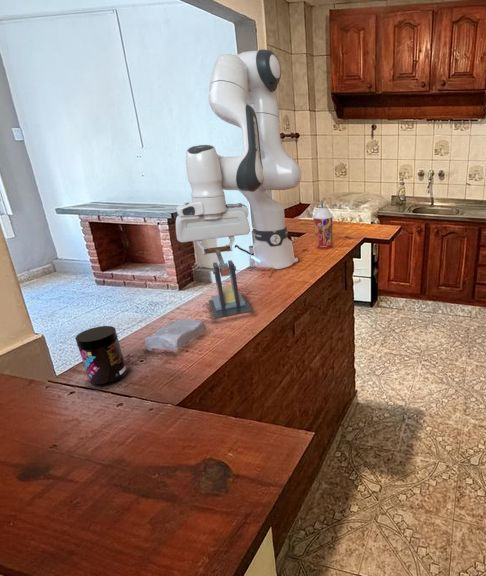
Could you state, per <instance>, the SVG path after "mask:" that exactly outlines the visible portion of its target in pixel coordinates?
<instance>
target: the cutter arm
mask: <svg viewBox="0 0 486 576" xmlns="http://www.w3.org/2000/svg"><path fill="white" fill-rule="evenodd" d="M207 250H208V251H207V252H208V254H207V255H209V254H215V255H216V257H217V260H218V266H219V271H220V277H222V278H223V277H230V271H229V265H228V262H226V263H225V261H224V258H223V256H222V253H223V252H227V247H226V245H224V246H215V247H208V248H207Z"/></svg>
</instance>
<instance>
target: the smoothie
mask: <svg viewBox="0 0 486 576" xmlns="http://www.w3.org/2000/svg"><path fill="white" fill-rule="evenodd" d="M320 206H321V207H319V208H317V209H316V211H314V214H313V216H312V219H313V225H314V234H315V240H316V246H317V247H318V249H322V250H323V249H324V250H325V249H330V248H332V245H333V219H334V218H333V217H334V216H333V214H332V213H331V211H330V210H329V209H328V208H326V207H324V201H323V200H322V201H320ZM330 245H331V246H330ZM320 246H327V247H320Z"/></svg>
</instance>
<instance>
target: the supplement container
mask: <svg viewBox="0 0 486 576" xmlns="http://www.w3.org/2000/svg"><path fill="white" fill-rule="evenodd" d="M75 342H76V345H77V348H78V351H79V354H80V357H81V360H82V363H83V366H84V370H85V373H86V376H87V378H88V382H89V384H91V386H94V387H98V388H99V387H108V386H111V385H114V384H116V383H119V382H120V381H122V380H123V379H124V378H125V377H126V375H127V372H128V371H127V367H126V363H125V359H124V355H123V352H122V349H121V345H120V341H119V336H118V332H117V330H116V327H114V326H111V325H102V326H101V325H100V326H96V327H95V326H94V327H92V328H89V329H86V330H83V331H81V332H79V333H78V334H77V335H76V336H75Z"/></svg>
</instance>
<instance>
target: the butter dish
mask: <svg viewBox="0 0 486 576" xmlns="http://www.w3.org/2000/svg"><path fill="white" fill-rule="evenodd" d="M222 290H223V296H224V302H225V308H226V309H227V308H233V307H237V306H236V303H235V298H234V292H233V290H232V284H231V285H226V286H222ZM238 294H239V301H240V306H243V305H246V304H245V301H244V300H243V298H242V296H241V295H242V294H241V293H240V291H239V290H238ZM211 300H213V303H214V306H215V309H216V311H217V310H222V308H221V305H220V302H219V297H218V294H216V295H211Z"/></svg>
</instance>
